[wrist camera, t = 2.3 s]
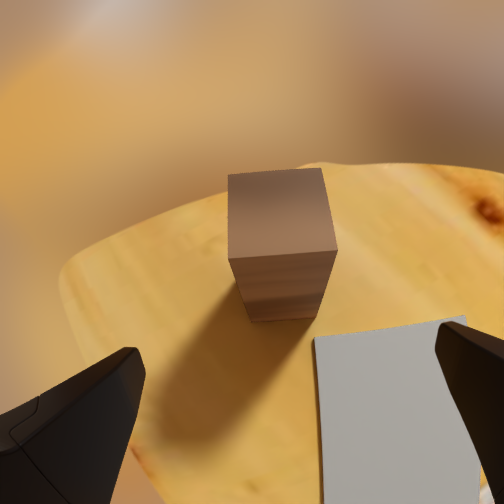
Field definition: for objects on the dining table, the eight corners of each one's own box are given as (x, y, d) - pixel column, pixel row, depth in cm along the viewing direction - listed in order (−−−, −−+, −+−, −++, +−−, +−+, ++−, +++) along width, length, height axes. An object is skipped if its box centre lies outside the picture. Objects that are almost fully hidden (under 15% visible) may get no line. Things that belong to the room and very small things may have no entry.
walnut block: (315, 317, 22) (337, 250, 13) (250, 322, 22) (227, 258, 13) (309, 259, 24) (320, 167, 15) (248, 263, 24) (228, 174, 15)
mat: (476, 507, 13) (478, 508, 13) (323, 550, 14) (324, 552, 13) (463, 316, 20) (465, 314, 20) (314, 338, 21) (314, 337, 21)
